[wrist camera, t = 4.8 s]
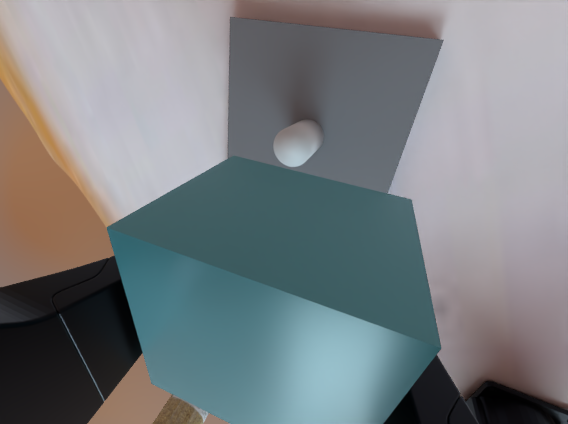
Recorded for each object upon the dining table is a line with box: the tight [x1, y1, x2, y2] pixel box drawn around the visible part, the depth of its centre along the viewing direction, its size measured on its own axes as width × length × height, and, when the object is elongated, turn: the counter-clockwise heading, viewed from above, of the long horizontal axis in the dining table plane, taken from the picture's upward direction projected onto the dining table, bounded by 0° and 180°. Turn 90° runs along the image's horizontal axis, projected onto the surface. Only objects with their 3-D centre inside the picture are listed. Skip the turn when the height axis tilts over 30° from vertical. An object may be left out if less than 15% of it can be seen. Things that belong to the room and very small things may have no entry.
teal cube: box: [107, 156, 441, 424], centre depth 8 cm, size 6×6×5 cm
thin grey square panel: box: [228, 17, 443, 193], centre depth 16 cm, size 12×12×4 cm
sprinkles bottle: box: [153, 394, 208, 424], centre depth 28 cm, size 5×5×13 cm
